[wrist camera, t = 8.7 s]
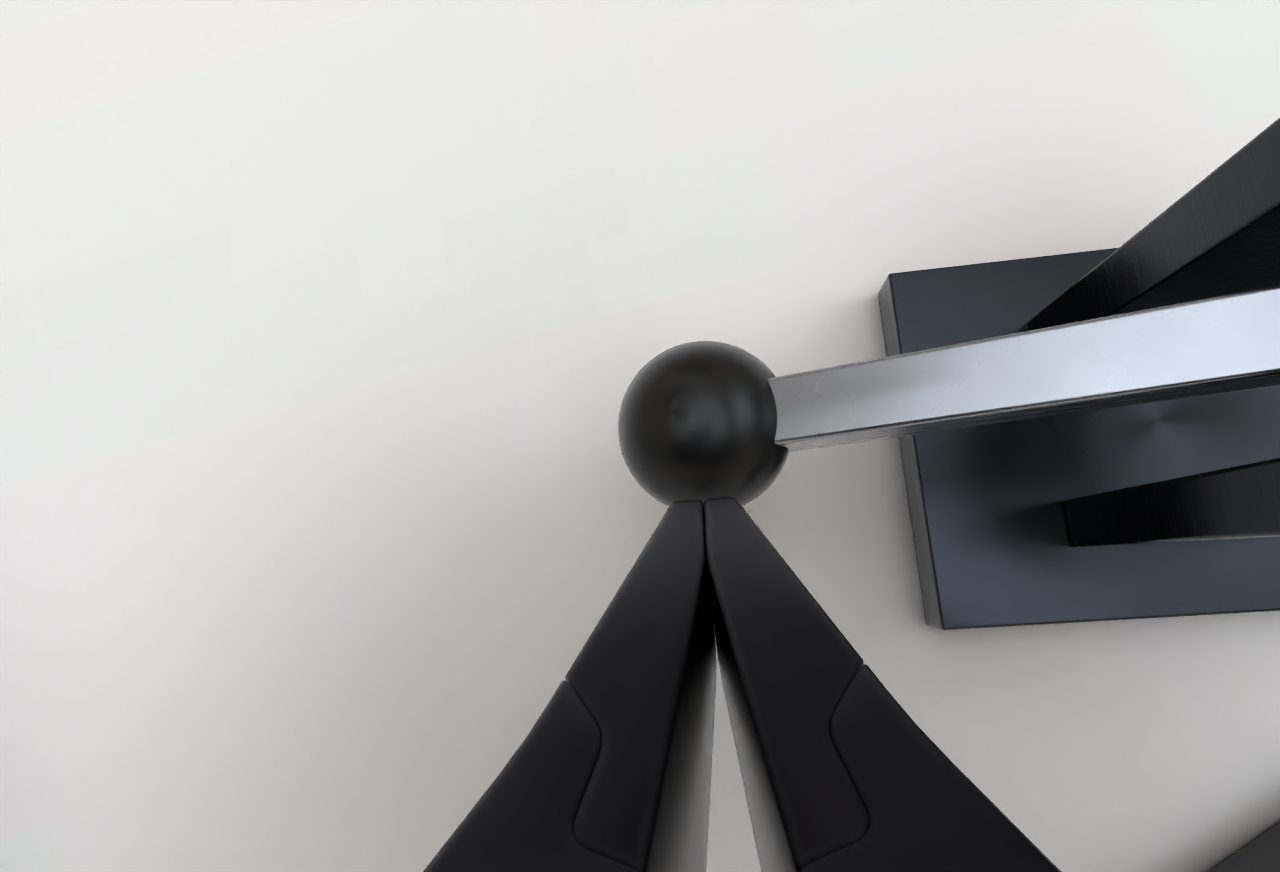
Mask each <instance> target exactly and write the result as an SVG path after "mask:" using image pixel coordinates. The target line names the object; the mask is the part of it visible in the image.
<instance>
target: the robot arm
mask: <svg viewBox="0 0 1280 872" xmlns="http://www.w3.org/2000/svg"><path fill="white" fill-rule="evenodd" d="M715 637H716V639H715ZM716 646H717V655H718V662H719V668H720V673H721V679H722V683H723V688H724V693H725V698H726V703H727V707H728V712H729V717H730V722H731V727H732V731H733V736H734V741H735V746H736V751H737V755H738V760H739V765H740V770H741V775H742V780H743V784H744V789H745V794H746V799H747V804H748V808H749V813H750V818H751V823H752V828H753V832H754V837H755V842H756V847H757V852H758V856H759V861H760V866H761V871H762V872H1061V871H1060V870H1059V869H1058V868H1057V867H1056V866H1055V865H1054V864H1053V863H1052V862H1051V861H1050V860H1049V859H1048V858H1047V857H1046V856H1045V855H1044V854H1043V853H1042V852H1041V851H1040V850H1039V849H1038V848H1037V847H1036V846H1035V845H1034V844H1033V843H1032V842H1031V841H1030V840H1029V839H1028V838H1027V837H1026V836H1025V835H1024V834H1023V833H1022V832H1021V831H1020V830H1019V829H1018V828H1017V827H1016V826H1015V825H1014V824H1013V823H1012V822H1011V821H1010V820H1009V819H1008V818H1007V817H1006V816H1005V815H1004V814H1003V813H1002V812H1001V811H1000V810H999V809H998V808H997V807H996V806H995V805H994V804H993V803H992V802H991V801H990V800H989V799H988V798H987V797H986V796H985V795H984V794H983V793H982V792H981V791H980V790H979V789H978V788H977V787H976V786H975V785H974V784H973V783H972V782H971V781H970V780H969V779H968V778H967V777H966V776H965V775H964V774H963V773H962V772H961V771H960V770H959V769H958V768H957V767H956V766H955V765H954V764H953V763H952V762H951V761H950V760H949V759H948V757H947V756H946V755H945V754H944V753H943V752H942V751H941V750H940V749H939V748H938V747H937V746H936V745H935V744H934V743H933V742H932V741H931V740H930V739H929V737H928V736H927V735H926V734H925V733H924V732H923V731H922V730H921V729H920V728H919V727H918V726H917V725H916V724H915V723H914V721H913V720H912V719H911V718H910V717H909V715H908V714H907V713H906V712H905V711H904V710H903V708H902V707H901V706H900V705H899V704H898V702H897V701H896V700H895V699H894V698H893V696H892V695H891V694H890V693H889V692H888V691H887V689H886V688H885V687H884V686H883V684H882V683H881V682H880V681H879V679H878V678H877V677H876V675H875V674H874V673H873V672H872V670H871V669H870V668H869V667H868V666H867V665H865V664H863V659H862V658H861V657H860V656H859V654H858V653H857V652H856V651H855V649H854V648H853V647H852V646H851V644H850V643H849V642H848V640H847V639H846V638H845V637H844V635H843V634H842V633H841V632H840V630H839V629H838V628H837V627H836V625H835V624H834V623H833V621H832V620H831V619H830V618H829V616H828V615H827V614H826V613H825V611H824V610H823V609H822V608H821V606H820V605H819V604H818V602H817V601H816V600H815V599H814V597H813V596H812V595H811V594H810V592H809V591H808V590H807V589H806V587H805V586H804V585H803V584H802V582H801V581H800V580H799V578H798V577H797V576H796V575H795V573H794V572H793V571H792V570H791V568H790V567H789V566H788V565H787V563H786V562H785V561H784V559H783V558H782V557H781V556H780V554H779V553H778V552H777V551H776V549H775V548H774V547H773V546H772V544H771V543H770V542H769V540H768V539H767V538H766V537H765V535H764V534H763V533H762V532H761V530H760V529H759V528H758V527H757V525H756V524H755V523H754V521H753V520H752V519H751V518H750V516H749V515H748V514H747V513H746V511H745V510H744V509H743V508H742V506H741V505H740V504H739V502H738V501H737V500H736V499H735V498H733V497H719V498H708V499H706V500H705V502H704V505H703V502H702V501H701V500H699V499H694V500H682V501H675V502H673V503H672V504H671V505H670V507H669V509H668V510H667V512H666V513H665V515H664V517H663V518H662V520H661V522H660V523H659V525H658V526H657V528H656V530H655V531H654V533H653V535H652V536H651V538H650V539H649V541H648V543H647V544H646V546H645V548H644V549H643V551H642V552H641V554H640V556H639V557H638V559H637V561H636V562H635V564H634V566H633V567H632V569H631V570H630V572H629V574H628V575H627V577H626V579H625V580H624V582H623V583H622V585H621V587H620V588H619V590H618V592H617V593H616V595H615V596H614V598H613V600H612V601H611V603H610V605H609V606H608V608H607V610H606V611H605V613H604V614H603V616H602V618H601V619H600V621H599V623H598V624H597V626H596V627H595V629H594V631H593V632H592V634H591V636H590V637H589V639H588V640H587V642H586V644H585V645H584V647H583V649H582V650H581V652H580V653H579V655H578V657H577V658H576V660H575V662H574V663H573V665H572V667H571V668H570V670H569V671H568V673H567V675H566V677H565V678H566V681H562V682H561V684H560V685H559V687H558V689H557V690H556V692H555V694H554V695H553V697H552V699H551V700H550V702H549V704H548V705H547V707H546V708H545V710H544V711H543V713H542V714H541V716H540V717H539V719H538V720H537V722H536V724H535V725H534V727H533V728H532V730H531V731H530V733H529V734H528V736H527V737H526V739H525V740H524V742H523V743H522V744H521V746H520V747H519V748H518V750H517V751H516V752H515V754H514V755H513V756H512V758H511V759H510V760H509V762H508V763H507V764H506V766H505V767H504V768H503V770H502V771H501V772H500V774H499V775H498V776H497V778H496V779H495V780H494V782H493V783H492V784H491V786H490V787H489V788H488V789H487V791H486V792H485V793H484V795H483V796H482V797H481V798H480V800H479V801H478V802H477V803H476V805H475V806H474V807H473V809H472V810H471V811H470V812H469V814H468V815H467V816H466V818H465V819H464V820H463V821H462V823H461V824H460V825H459V826H458V828H457V829H456V830H455V832H454V833H453V834H452V835H451V837H450V838H449V839H448V841H447V842H446V843H445V844H444V846H443V847H442V848H441V849H440V851H439V852H438V853H437V855H436V856H435V857H434V858H433V860H432V861H431V862H430V864H429V865H428V866H427V867H426V869H425V870H424V871H423V872H706V862H707V843H708V824H709V805H710V785H711V766H712V747H713V728H714V709H715V689H716V661H717V659H716Z"/></svg>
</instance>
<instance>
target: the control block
mask: <svg viewBox="0 0 1280 872" xmlns="http://www.w3.org/2000/svg"><path fill="white" fill-rule="evenodd" d="M1209 872H1280V822H1279V823H1278V824H1276V825H1275V826H1273V827H1272V828H1271V829H1269V830H1268V831H1266V832H1265V833H1263V834H1262V835H1260V836H1259V837H1258V838H1256V839H1255V840H1253V841H1252V842H1250V843H1249V844H1248V845H1246V846H1245V847H1243V848H1242V849H1240V850H1239V851H1238V852H1236V853H1235V854H1233V855H1232V856H1230V857H1229V858H1227V859H1226V860H1225V861H1223V862H1222V863H1220V864H1219V865H1217V866H1216V867H1215V868H1213V869H1212V870H1210V871H1209Z"/></svg>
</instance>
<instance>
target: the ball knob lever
mask: <svg viewBox="0 0 1280 872" xmlns="http://www.w3.org/2000/svg"><path fill="white" fill-rule="evenodd" d="M1273 385H1280V285H1277V286H1271V287H1266V288H1260V289H1255V290H1249V291H1244V292H1238V293H1233V294H1227V295H1222V296H1216V297H1211V298H1206V299H1200V300H1195V301H1189V302H1184V303H1178V304H1173V305H1167V306H1162V307H1156V308H1151V309H1146V310H1140V311H1135V312H1129V313H1124V314H1118V315H1113V316H1107V317H1102V318H1096V319H1091V320H1086V321H1080V322H1075V323H1069V324H1064V325H1058V326H1053V327H1047V328H1042V329H1036V330H1031V331H1026V332H1020V333H1015V334H1009V335H1004V336H998V337H993V338H987V339H982V340H976V341H971V342H965V343H960V344H955V345H949V346H944V347H938V348H933V349H927V350H922V351H916V352H911V353H905V354H900V355H895V356H889V357H884V358H878V359H873V360H867V361H862V362H856V363H851V364H845V365H840V366H835V367H829V368H824V369H818V370H813V371H807V372H802V373H796V374H791V375H785V376H780V377H775V375H774V374H773V373H772V372H771V371H770V369H769V368H768V367H767V366H766V365H765V364H764V363H762V362H761V361H760V360H759V359H758V358H756V357H755V356H753V355H751V354H750V353H748V352H746V351H745V350H743V349H740V348H738V347H736V346H732V345H729V344H725V343H721V342H713V341H698V342H692V343H685V344H682V345H678V346H675V347H673V348H670V349H668V350H666V351H664V352H663V353H661V354H659V355H658V356H656V357H655V358H653V359H652V360H651V361H650V362H648V363H647V364H646V365H645V366H644V367H643V368H642V369H641V370H640V371H639V372H638V374H637V375H636V376H635V377H634V379H633V381H632V382H631V384H630V385H629V387H628V389H627V391H626V393H625V396H624V399H623V401H622V405H621V409H620V413H619V422H618V432H619V441H620V447H621V451H622V455H623V457H624V460H625V462H626V465H627V466H628V468H629V470H630V472H631V474H632V475H633V477H634V478H635V479H636V481H637V482H638V483H639V485H640V486H641V487H642V488H643V489H644V490H645V491H646V492H648V493H649V494H650V495H651V496H653V497H654V498H655V499H657V500H658V501H660V502H661V503H663V504H665V505H667V506H669V507H670V505H671V504H672V503H673V502H675V501H682V500H694V499H699V500H701V501H702V502H703V505H704V502H705V500H706V499H708V498H719V497H733V498H735V499H736V500H737V501H738V502H739V504H740V505H741V506H743V505H745V504H747V503H749V502H751V501H752V500H754V499H755V498H757V497H758V496H759V495H761V494H762V493H763V492H764V491H765V490H766V489H767V488H768V487H769V486H770V485H771V484H772V483H773V482H774V480H775V479H776V477H777V476H778V474H779V473H780V471H781V469H782V467H783V466H784V464H785V461H786V459H787V456H788V453H789V452H790V451H798V450H805V449H812V448H820V447H827V446H834V445H841V444H849V443H856V442H863V441H871V440H878V439H885V438H893V437H900V436H907V435H915V434H922V433H929V432H937V431H944V430H951V429H959V428H966V427H973V426H980V425H988V424H995V423H1002V422H1010V421H1017V420H1024V419H1032V418H1039V417H1046V416H1054V415H1061V414H1068V413H1076V412H1083V411H1090V410H1098V409H1105V408H1112V407H1119V406H1127V405H1134V404H1141V403H1149V402H1156V401H1163V400H1171V399H1178V398H1185V397H1193V396H1200V395H1207V394H1215V393H1222V392H1229V391H1236V390H1244V389H1251V388H1258V387H1266V386H1273Z"/></svg>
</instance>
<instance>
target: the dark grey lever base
mask: <svg viewBox="0 0 1280 872" xmlns="http://www.w3.org/2000/svg"><path fill="white" fill-rule="evenodd" d="M1277 285H1280V118H1279V119H1278V120H1276V121H1275V122H1274V123H1273V124H1271V125H1270V126H1269V127H1268V128H1267V129H1265V130H1264V131H1263V132H1262V133H1260V134H1259V135H1258V136H1257V137H1255V138H1254V139H1253V140H1252V141H1251V142H1249V143H1248V144H1247V145H1246V146H1244V147H1243V148H1242V149H1241V150H1239V151H1238V152H1237V153H1236V154H1234V155H1233V156H1232V157H1231V158H1230V159H1228V160H1227V161H1226V162H1225V163H1223V164H1222V165H1221V166H1220V167H1218V168H1217V169H1216V170H1215V171H1214V172H1212V173H1211V174H1210V175H1209V176H1207V177H1206V178H1205V179H1204V180H1202V181H1201V182H1200V183H1199V184H1197V185H1196V186H1195V187H1194V188H1193V189H1191V190H1190V191H1189V192H1188V193H1186V194H1185V195H1184V196H1183V197H1181V198H1180V199H1179V200H1178V201H1177V202H1175V203H1174V204H1173V205H1172V206H1170V207H1169V208H1168V209H1167V210H1165V211H1164V212H1163V213H1162V214H1160V215H1159V216H1158V217H1157V218H1156V219H1154V220H1153V221H1152V222H1151V223H1149V224H1148V225H1147V226H1146V227H1144V228H1143V229H1142V230H1141V231H1139V232H1138V233H1137V234H1136V235H1135V236H1133V237H1132V238H1131V239H1130V240H1128V241H1127V242H1126V243H1125V244H1123V245H1122V246H1121V247H1120V248H1114V249H1105V250H1096V251H1087V252H1078V253H1069V254H1061V255H1052V256H1043V257H1034V258H1025V259H1017V260H1008V261H999V262H990V263H981V264H972V265H964V266H955V267H946V268H937V269H928V270H919V271H911V272H902V273H893V274H889V275H888V277H887V279H886V281H885V282H884V284H883V286H882V288H881V290H880V291H879V293H878V297H879V304H880V311H881V318H882V324H883V331H884V338H885V345H886V352H887V357H889V356H895V355H900V354H905V353H911V352H916V351H922V350H927V349H933V348H938V347H944V346H949V345H955V344H960V343H965V342H971V341H976V340H982V339H987V338H993V337H998V336H1004V335H1009V334H1015V333H1020V332H1026V331H1031V330H1036V329H1042V328H1047V327H1053V326H1058V325H1064V324H1069V323H1075V322H1080V321H1086V320H1091V319H1096V318H1102V317H1107V316H1113V315H1118V314H1124V313H1129V312H1135V311H1140V310H1146V309H1151V308H1156V307H1162V306H1167V305H1173V304H1178V303H1184V302H1189V301H1195V300H1200V299H1206V298H1211V297H1216V296H1222V295H1227V294H1233V293H1238V292H1244V291H1249V290H1255V289H1260V288H1266V287H1271V286H1277ZM899 440H900V447H901V454H902V461H903V468H904V475H905V481H906V488H907V495H908V502H909V509H910V516H911V522H912V529H913V536H914V543H915V550H916V556H917V563H918V570H919V577H920V584H921V591H922V597H923V604H924V611H925V618H926V623H927V625H929V626H932V627H936V628H939V629H943V630H953V629H970V628H988V627H1005V626H1022V625H1040V624H1057V623H1074V622H1092V621H1109V620H1126V619H1144V618H1161V617H1178V616H1196V615H1213V614H1230V613H1248V612H1265V611H1280V385H1273V386H1266V387H1258V388H1251V389H1244V390H1236V391H1229V392H1222V393H1215V394H1207V395H1200V396H1193V397H1185V398H1178V399H1171V400H1163V401H1156V402H1149V403H1141V404H1134V405H1127V406H1119V407H1112V408H1105V409H1098V410H1090V411H1083V412H1076V413H1068V414H1061V415H1054V416H1046V417H1039V418H1032V419H1024V420H1017V421H1010V422H1002V423H995V424H988V425H980V426H973V427H966V428H959V429H951V430H944V431H937V432H929V433H922V434H915V435H907V436H900V437H899Z"/></svg>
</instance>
